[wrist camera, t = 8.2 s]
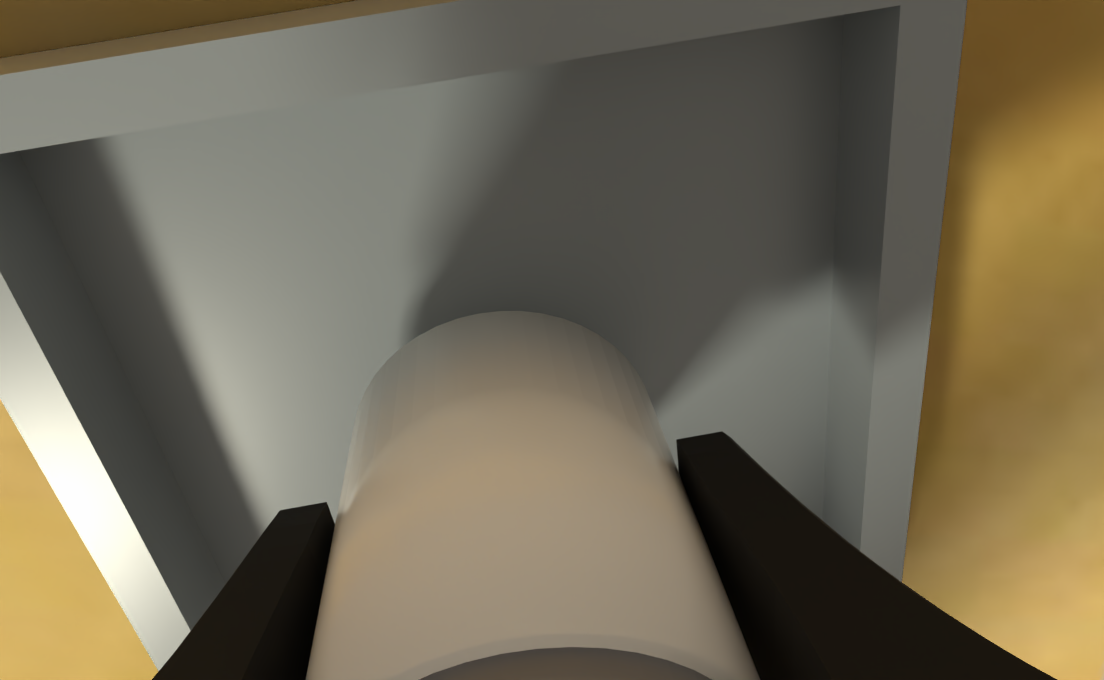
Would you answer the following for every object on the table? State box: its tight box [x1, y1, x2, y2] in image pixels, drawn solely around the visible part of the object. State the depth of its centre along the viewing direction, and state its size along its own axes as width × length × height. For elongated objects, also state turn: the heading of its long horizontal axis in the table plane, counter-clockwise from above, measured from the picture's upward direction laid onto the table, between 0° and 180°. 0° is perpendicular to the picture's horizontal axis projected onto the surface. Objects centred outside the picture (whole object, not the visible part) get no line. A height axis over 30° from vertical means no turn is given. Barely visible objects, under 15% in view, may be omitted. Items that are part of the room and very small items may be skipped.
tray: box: [0, 0, 967, 671], centre depth 13 cm, size 13×13×2 cm
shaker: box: [306, 311, 760, 680], centre depth 9 cm, size 4×4×6 cm
